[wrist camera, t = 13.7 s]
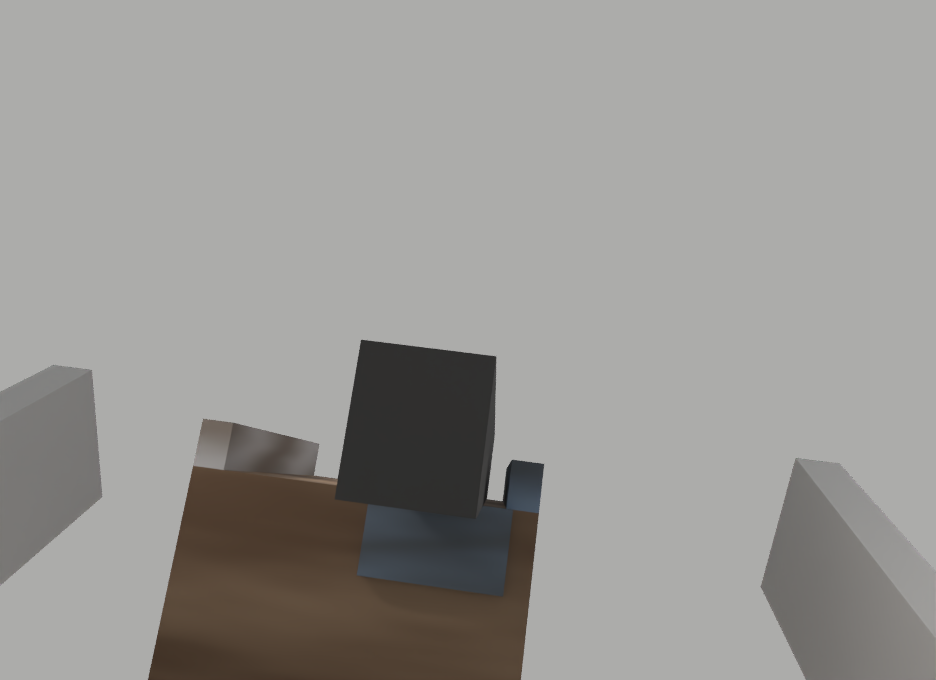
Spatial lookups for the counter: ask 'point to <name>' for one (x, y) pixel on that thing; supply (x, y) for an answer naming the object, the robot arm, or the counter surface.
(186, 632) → the wooden block tower
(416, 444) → the bar
